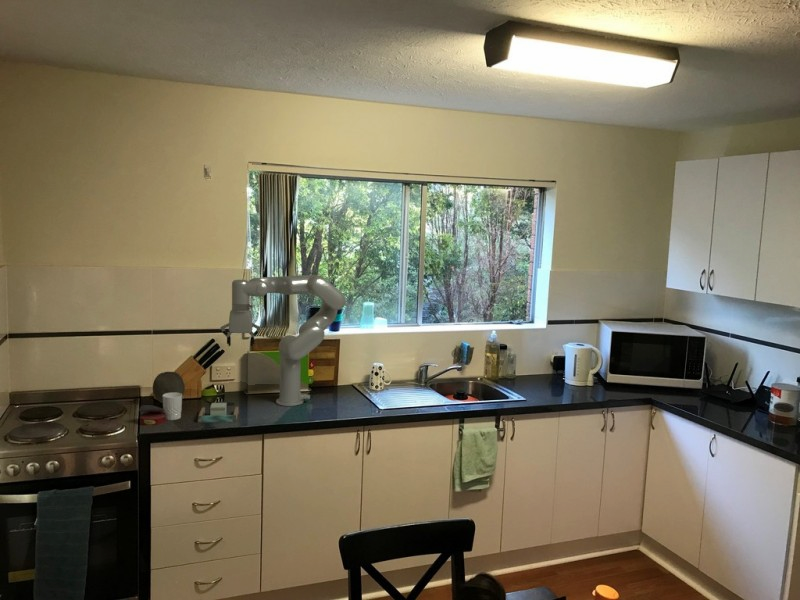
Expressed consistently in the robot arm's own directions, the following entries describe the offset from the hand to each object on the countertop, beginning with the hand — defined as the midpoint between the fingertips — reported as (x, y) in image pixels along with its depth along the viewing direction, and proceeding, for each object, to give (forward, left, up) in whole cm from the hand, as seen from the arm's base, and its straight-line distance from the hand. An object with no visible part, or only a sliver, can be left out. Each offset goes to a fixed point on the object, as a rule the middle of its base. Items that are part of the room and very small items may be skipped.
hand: (240, 345), depth 287 cm
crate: (+8, +16, -28) cm, 34 cm away
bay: (+8, +15, -28) cm, 33 cm away
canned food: (+34, +19, -29) cm, 48 cm away
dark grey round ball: (+32, -6, -28) cm, 43 cm away
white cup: (+27, +14, -28) cm, 42 cm away
